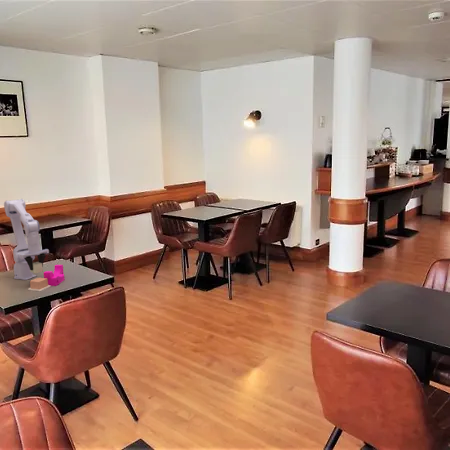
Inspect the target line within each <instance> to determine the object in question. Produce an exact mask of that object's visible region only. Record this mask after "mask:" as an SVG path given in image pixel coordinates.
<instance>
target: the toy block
mask: <svg viewBox="0 0 450 450" xmlns="http://www.w3.org/2000/svg"><path fill="white" fill-rule="evenodd" d="M43 278H47V279H48V285H51V287H57V286H59V284H61V283H63V282H64V281H65V274H64V264H55V265H54V270H46V271H44V272H43Z"/></svg>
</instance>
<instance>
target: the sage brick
mask: <svg viewBox="0 0 450 450" xmlns="http://www.w3.org/2000/svg"><path fill="white" fill-rule="evenodd" d="M43 270H44V269H43V267H42V263H40V262H39V261H36V262H33V270H30V272H32V273H33V274H38V273H42V272H43Z"/></svg>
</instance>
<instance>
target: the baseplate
mask: <svg viewBox="0 0 450 450" xmlns="http://www.w3.org/2000/svg"><path fill="white" fill-rule="evenodd" d="M49 288H52V286H51V285H48V286H47V287H45V288H42V289H31V287H28V288H27V291H33V292H42V291H45V290H47V289H49Z"/></svg>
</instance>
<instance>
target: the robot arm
mask: <svg viewBox="0 0 450 450" xmlns="http://www.w3.org/2000/svg"><path fill="white" fill-rule="evenodd" d="M26 207H27V205H26V201H25V199H23V198H21V199H12V200H5V201H4V203H3V208H4V212H5V215H6V217H7V218H9V220H10V222H11V226H12V230H13V235H14V238H15V242H16V247H14V249H12V254H13V261H14V262H15V263H14V264H13V272H14V277H13V280H14V279H16V280H24V281H27V280H31V279H32V278H33V279H34V278H35V277H37V276H38V275H37V274H34V273H32V272H30V270H33V263H34V260H35V258H36V257H35V256H37V260H38V262H40V263H42V268H43V266H44V261H45V259H46V256H47V254H49V253H50V250H49V249H48V248H45V249H41V244H40V237H39V236H40V233H39V232H40V231H41V230H40V228H41V226H40V222H39V221H38V220H36V219H34V218H33V216H32V215H31V214H30V213H29V212H27V210H26ZM22 225H23V226H22ZM24 232H25V234H24Z"/></svg>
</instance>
